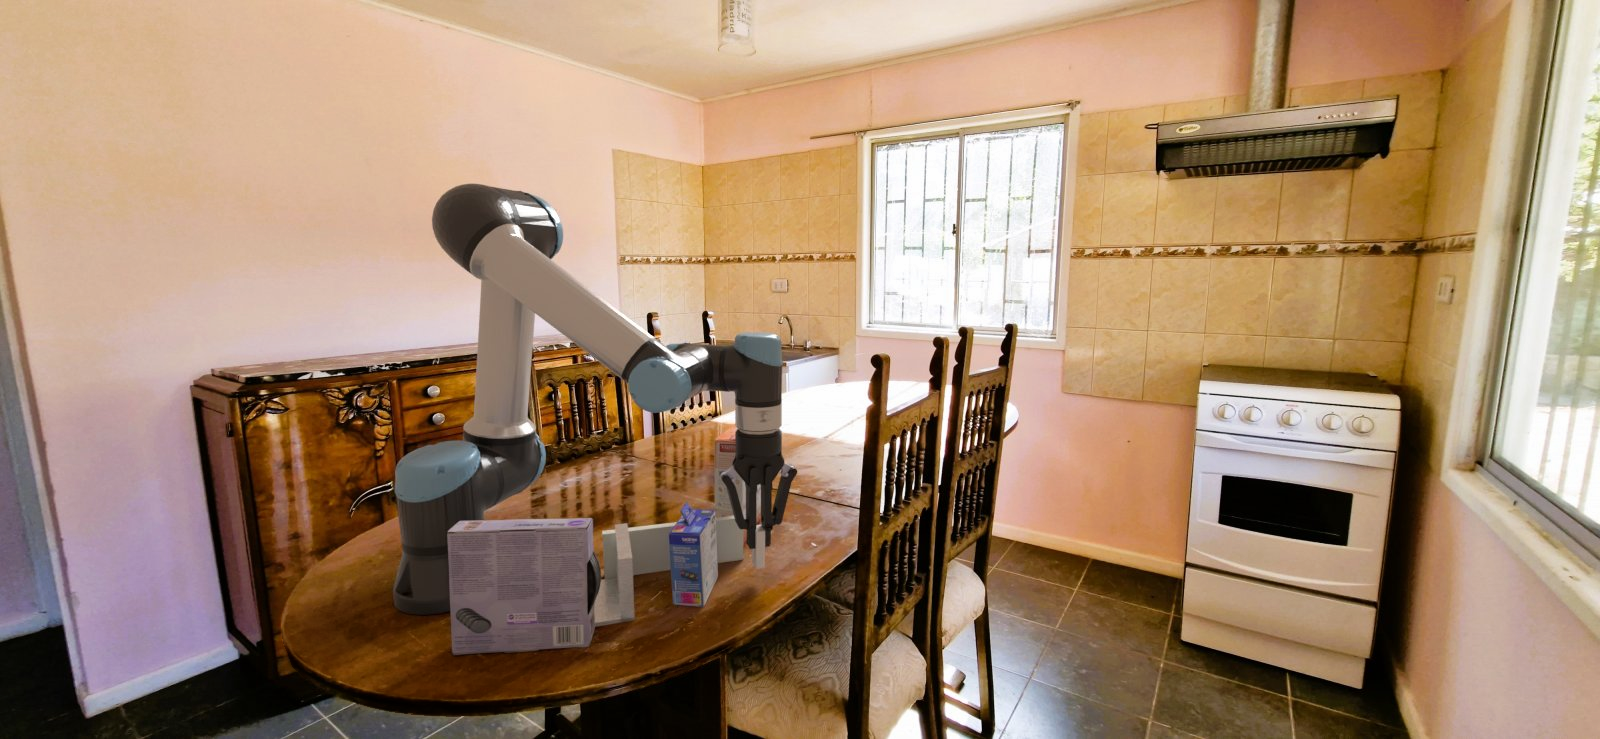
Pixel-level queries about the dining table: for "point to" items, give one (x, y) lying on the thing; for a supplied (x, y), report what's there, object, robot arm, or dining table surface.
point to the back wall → (667, 546)
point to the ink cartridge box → (693, 556)
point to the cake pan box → (522, 584)
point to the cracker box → (723, 463)
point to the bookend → (617, 585)
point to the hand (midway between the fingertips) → (758, 564)
